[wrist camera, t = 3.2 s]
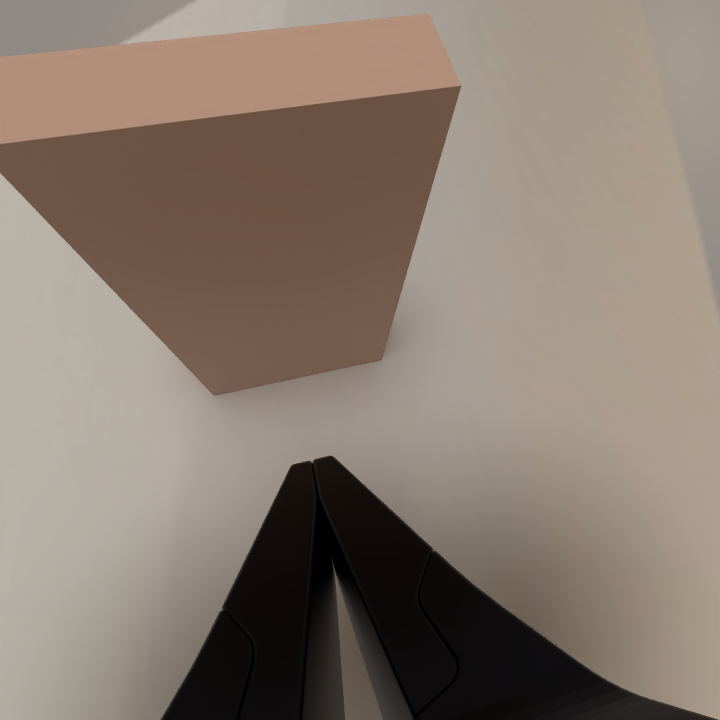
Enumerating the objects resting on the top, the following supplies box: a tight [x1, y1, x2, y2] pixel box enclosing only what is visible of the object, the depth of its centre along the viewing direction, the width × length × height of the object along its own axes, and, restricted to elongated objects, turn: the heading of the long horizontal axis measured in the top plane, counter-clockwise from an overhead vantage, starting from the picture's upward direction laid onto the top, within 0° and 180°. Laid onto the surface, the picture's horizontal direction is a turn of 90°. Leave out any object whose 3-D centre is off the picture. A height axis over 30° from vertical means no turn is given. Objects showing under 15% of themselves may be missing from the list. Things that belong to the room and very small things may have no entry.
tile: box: [0, 14, 461, 395], centre depth 14 cm, size 2×8×14 cm, turn 104°
